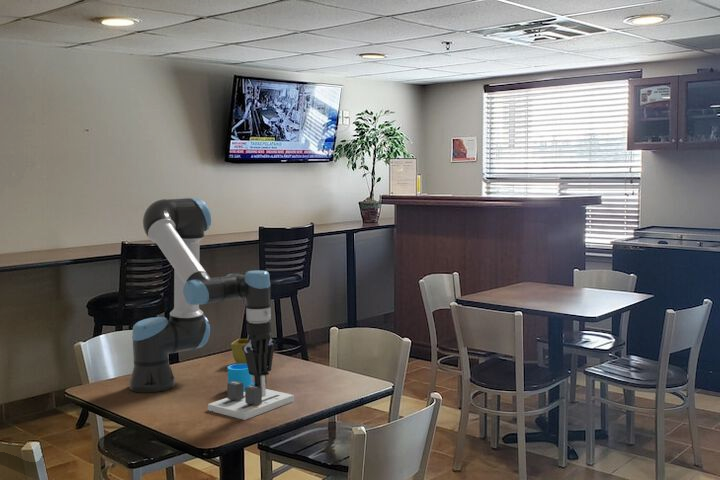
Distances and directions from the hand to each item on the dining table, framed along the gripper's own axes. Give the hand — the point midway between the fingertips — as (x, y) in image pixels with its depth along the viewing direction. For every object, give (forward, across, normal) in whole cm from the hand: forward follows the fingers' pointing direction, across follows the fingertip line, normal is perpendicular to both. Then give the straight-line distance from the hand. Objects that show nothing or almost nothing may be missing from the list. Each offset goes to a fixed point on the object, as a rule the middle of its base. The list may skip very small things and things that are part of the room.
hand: (260, 395), depth 231 cm
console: (+4, 0, +4) cm, 6 cm away
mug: (+4, +12, +19) cm, 23 cm away
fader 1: (+2, -3, +8) cm, 9 cm away
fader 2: (+2, -3, 0) cm, 4 cm away
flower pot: (+4, +36, +43) cm, 56 cm away
